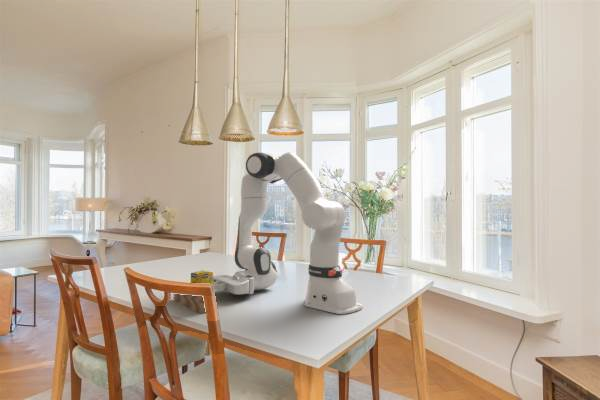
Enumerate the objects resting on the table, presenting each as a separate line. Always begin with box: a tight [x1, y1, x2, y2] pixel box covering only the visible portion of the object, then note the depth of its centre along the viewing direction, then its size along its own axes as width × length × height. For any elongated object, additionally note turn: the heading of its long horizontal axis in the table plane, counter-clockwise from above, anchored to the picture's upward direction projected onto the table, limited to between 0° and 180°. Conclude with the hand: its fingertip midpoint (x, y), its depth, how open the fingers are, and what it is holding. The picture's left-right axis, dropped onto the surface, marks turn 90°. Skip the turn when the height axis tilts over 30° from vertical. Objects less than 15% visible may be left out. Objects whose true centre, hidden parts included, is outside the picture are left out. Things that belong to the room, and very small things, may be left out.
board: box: [173, 293, 206, 315], centre depth 125 cm, size 22×3×6 cm, turn 42°
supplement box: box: [190, 270, 214, 284], centre depth 131 cm, size 6×6×11 cm
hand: (211, 286), depth 133 cm, fingers closed
